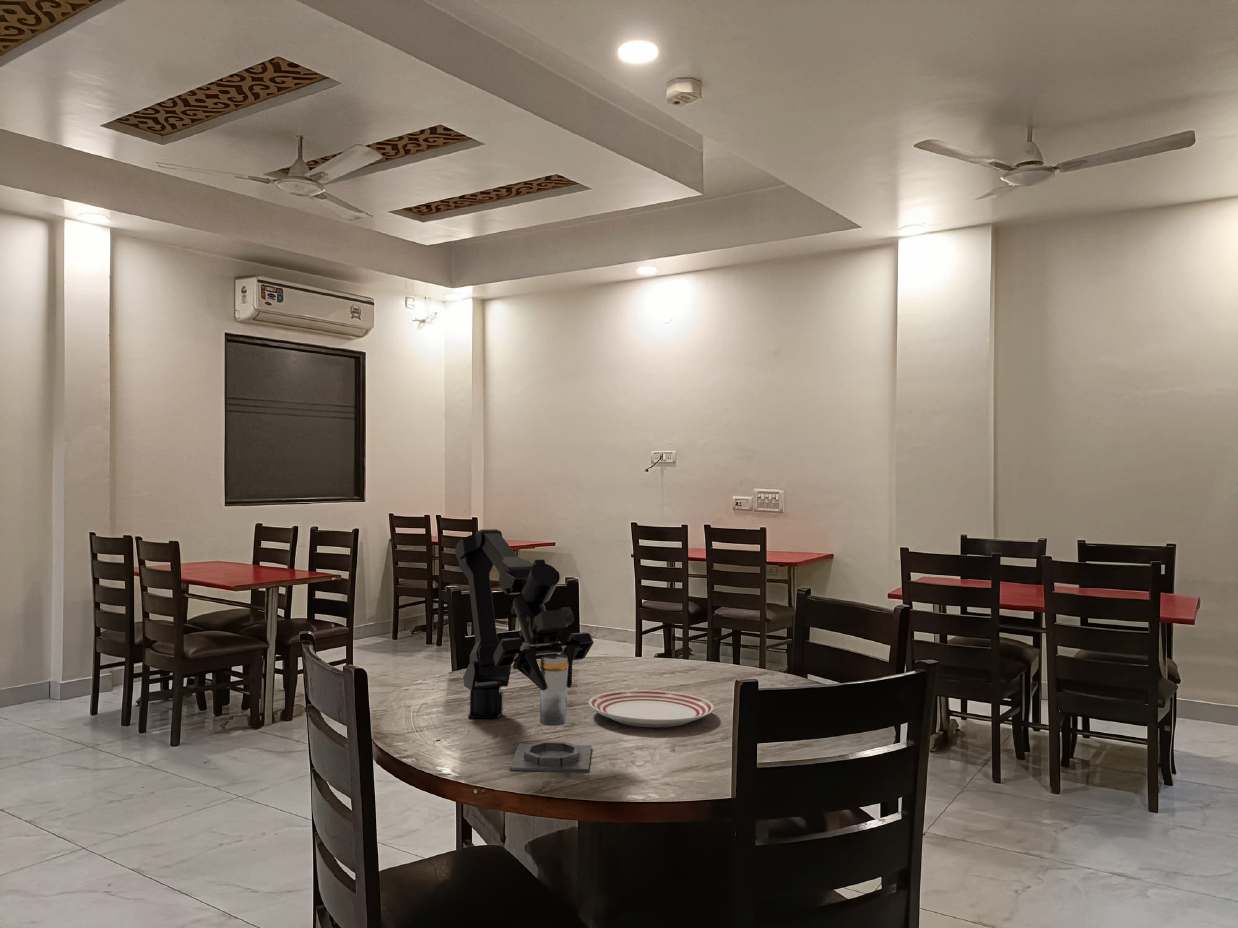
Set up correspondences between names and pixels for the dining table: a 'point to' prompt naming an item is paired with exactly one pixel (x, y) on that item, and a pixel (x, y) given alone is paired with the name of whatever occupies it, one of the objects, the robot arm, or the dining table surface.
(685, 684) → the dining table surface
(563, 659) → the grey cylindrical piece
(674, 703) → the dinner plate
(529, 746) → the flange
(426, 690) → the dining table surface
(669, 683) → the dining table surface
